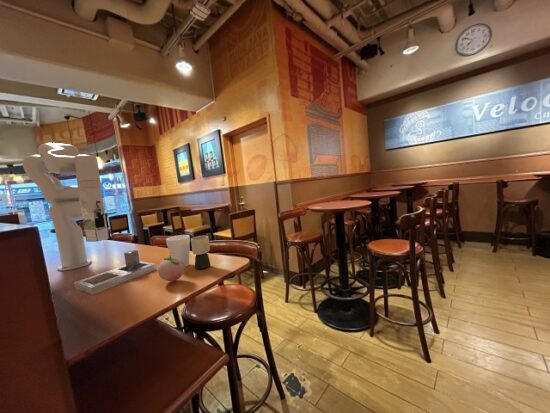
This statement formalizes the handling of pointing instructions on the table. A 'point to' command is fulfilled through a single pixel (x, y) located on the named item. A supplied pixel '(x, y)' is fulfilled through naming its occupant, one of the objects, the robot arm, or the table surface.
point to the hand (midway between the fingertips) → (95, 226)
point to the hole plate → (116, 274)
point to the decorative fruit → (171, 269)
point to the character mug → (201, 251)
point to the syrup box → (93, 227)
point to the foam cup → (179, 248)
